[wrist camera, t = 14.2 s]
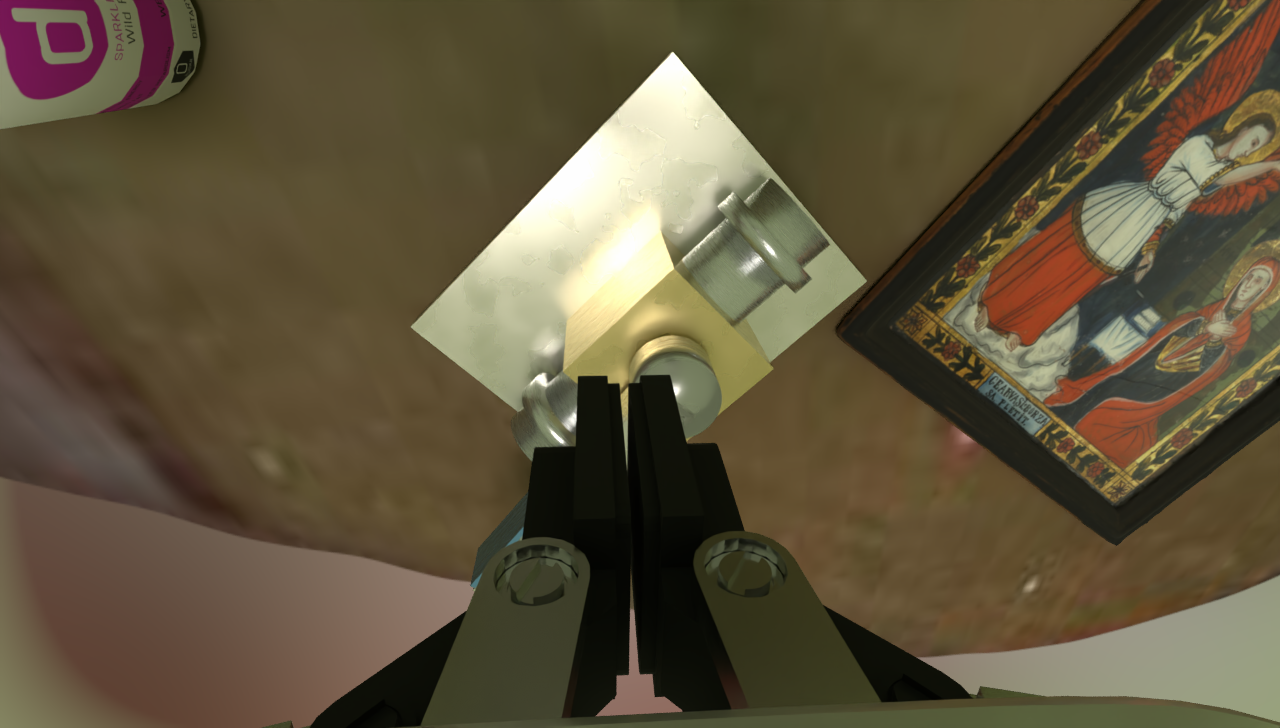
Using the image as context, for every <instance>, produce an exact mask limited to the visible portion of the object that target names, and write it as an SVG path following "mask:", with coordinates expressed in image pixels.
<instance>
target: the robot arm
mask: <svg viewBox="0 0 1280 728" xmlns="http://www.w3.org/2000/svg"><path fill="white" fill-rule="evenodd" d="M630 574H632V587H633V599H634V612H635V625H636V637H637V650H638V663H639V672H640V674H653V684H654V694H655V697H666V698H667V699H669V700H670V701H671V702H673V703H674V704H675V705H676V706H678V707H679V708H680V709H682V712H674V713H654V714H636V715H635V714H634V715H616V716H596V715H597V714H598V713H599V712H600V711H601V710H602V709H603V708H604V707H605V706H606V705H607V704H608V703H609V702H610V701H611V700H612V699H615V696H616V676H617V675H629V632H630V630H629V629H630ZM263 728H294V727H293V724H292V721H287V722H283V723H279V724H275V725H271V726H267V727H263ZM303 728H1280V722H1276V721H1272V720H1268V719H1265V718H1261V717H1257V716H1254V715H1250V714H1246V713H1242V712H1239V711H1235V710H1231V709H1226V708H1220V707H1214V706H1208V705H1202V704H1196V703H1190V702H1183V701H1176V700H1163V699H1151V698H1139V697H1127V696H1123V697H1122V696H1119V697H1080V696H1054V697H1046V696H1040V695H1034V694H1027V693H1021V692H1014V691H1008V690H1002V689H995V688H989V687H982V686H980V688H979V691H978V694H977V695H974V694H969V693H968V692H967V691H966V690H965V689H964V688H963V687H962V686H961V685H960V684H958V683H957V682H956V681H954V680H953V679H951V678H950V677H948V676H947V675H946V674H944V673H942V672H941V671H939V670H937V669H936V668H934V667H932V666H930V665H928V664H927V663H925V662H923V661H921V660H920V659H918V658H916V657H914V656H913V655H911V654H909V653H907V652H905V651H904V650H902V649H900V648H898V647H897V646H895V645H893V644H891V643H889V642H888V641H886V640H884V639H882V638H881V637H879V636H877V635H875V634H874V633H872V632H870V631H868V630H866V629H865V628H863V627H861V626H859V625H858V624H856V623H854V622H852V621H850V620H849V619H847V618H845V617H843V616H842V615H840V614H838V613H836V612H835V611H833V610H831V609H829V608H827V607H826V606H824V605H822V603H821V602H820V600H819V598H818V597H817V595H816V593H815V592H814V590H813V588H812V587H811V585H810V583H809V582H808V580H807V578H806V577H805V575H804V573H803V572H802V570H801V569H800V567H799V565H798V564H797V562H796V560H795V559H794V557H793V556H792V555H791V554H790V553H789V552H788V550H787V549H786V548H785V547H783V546H782V545H780V544H779V543H777V542H776V541H775V540H773V539H770V538H768V537H765V536H763V535H760V534H757V533H751V532H746V531H745V530H744V527H743V524H742V521H741V518H740V515H739V511H738V508H737V505H736V502H735V499H734V495H733V492H732V489H731V486H730V483H729V480H728V476H727V473H726V470H725V467H724V464H723V460H722V457H721V454H720V451H719V448H718V446H717V444H716V443H693V444H687V442H686V438H685V434H684V430H683V426H682V421H681V417H680V413H679V409H678V405H677V401H676V396H675V392H674V388H673V384H672V380H671V376H670V375H640V380H639V383H629V385H628V447H627V463H626V452H625V440H624V429H623V418H622V406H621V395H620V384H619V383H608V376H578V384H577V415H576V446H558V447H535V448H534V453H533V460H532V467H531V475H530V483H529V490H528V498H527V505H526V513H525V520H524V528H523V535H522V540H521V541H517V542H514V543H512V544H510V545H508V546H506V547H504V548H502V549H501V550H500V551H499V552H497V553H496V554H495V555H494V556H493V557H492V558H491V559H490V560H489V562H488V563H487V565H486V567H485V568H484V570H483V572H482V575H481V577H480V580H479V582H478V585H477V587H476V590H475V592H474V595H473V597H472V600H471V602H470V605H469V607H468V610H467V611H465V612H464V613H463V614H461V615H460V616H458V617H457V618H455V619H454V620H452V621H451V622H450V623H448V624H447V625H445V626H444V627H442V628H441V629H439V630H438V631H437V632H435V633H434V634H432V635H431V636H429V637H428V638H426V639H425V640H424V641H422V642H421V643H419V644H418V645H417V646H415V647H413V648H412V649H411V650H409V651H408V652H406V653H405V654H403V655H402V656H400V657H399V658H397V659H396V660H395V661H393V662H392V663H390V664H389V665H387V666H386V667H384V668H383V669H382V670H380V671H379V672H377V673H376V674H374V675H373V676H371V677H370V678H369V679H367V680H366V681H364V682H363V683H361V684H360V685H358V686H357V687H356V688H354V689H353V690H351V691H350V692H348V693H347V694H345V695H344V696H343V697H341V698H340V699H338V700H337V701H335V702H334V703H333V704H332V705H331V706H329V707H328V708H327V709H326V710H325V711H324V712H323V713H321V714H320V715H319V716H318V717H317V718H316V719H315V721H314V722H313V724H312V725H311V726H307V727H303Z"/></svg>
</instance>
